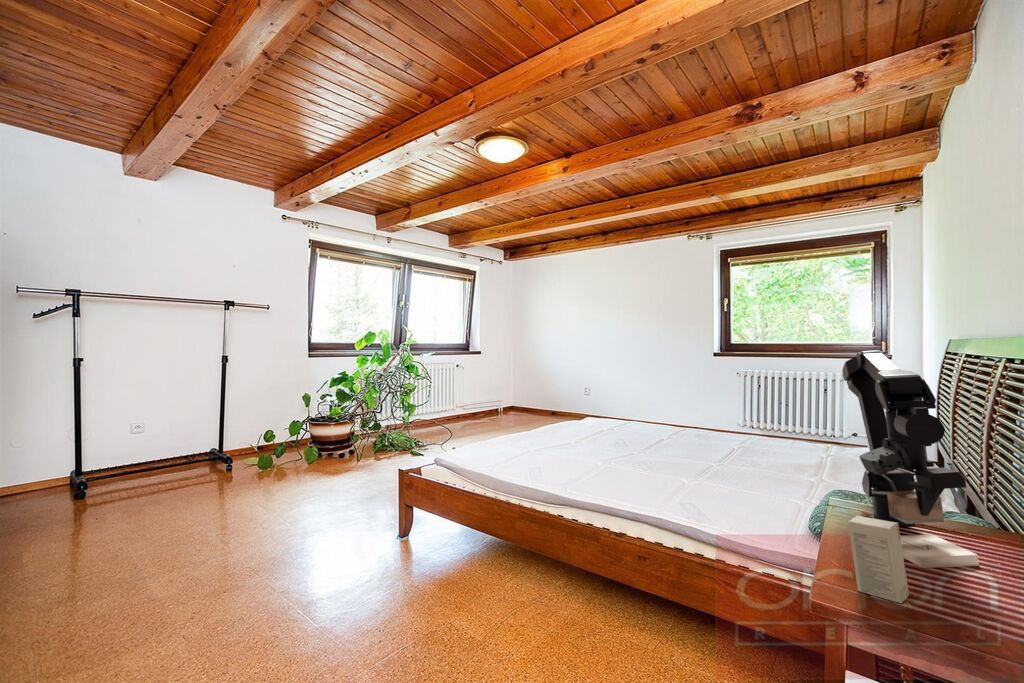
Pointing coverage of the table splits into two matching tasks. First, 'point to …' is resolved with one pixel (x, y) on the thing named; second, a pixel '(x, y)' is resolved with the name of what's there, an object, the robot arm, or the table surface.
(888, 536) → the skincare box
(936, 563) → the birch board
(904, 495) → the block
